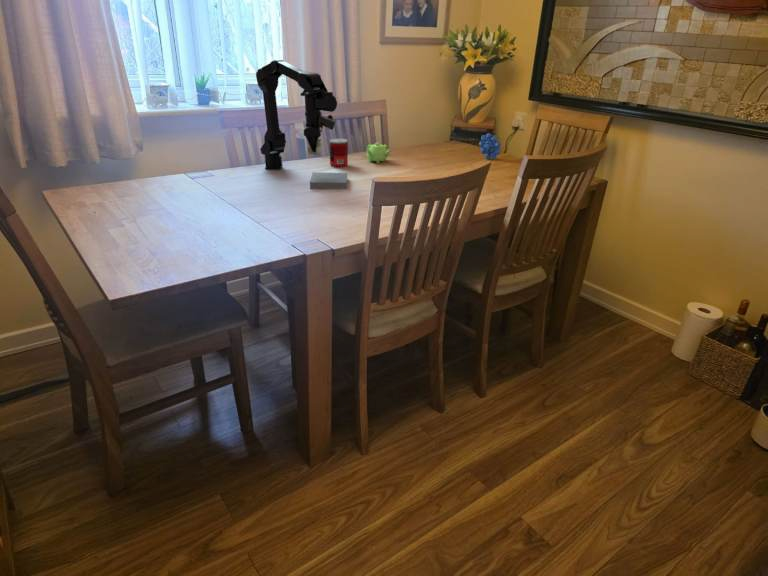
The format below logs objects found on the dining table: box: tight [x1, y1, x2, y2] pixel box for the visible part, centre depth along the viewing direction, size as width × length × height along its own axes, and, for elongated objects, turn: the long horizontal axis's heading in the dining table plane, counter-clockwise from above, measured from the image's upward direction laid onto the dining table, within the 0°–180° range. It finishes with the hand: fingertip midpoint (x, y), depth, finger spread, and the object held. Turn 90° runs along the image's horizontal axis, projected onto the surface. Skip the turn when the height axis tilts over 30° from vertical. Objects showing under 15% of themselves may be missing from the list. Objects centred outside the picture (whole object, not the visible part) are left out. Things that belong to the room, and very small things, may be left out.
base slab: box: [309, 172, 348, 190], centre depth 201 cm, size 14×14×2 cm
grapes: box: [478, 132, 502, 160], centre depth 243 cm, size 12×7×12 cm, turn 50°
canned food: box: [329, 138, 349, 168], centre depth 225 cm, size 8×8×11 cm
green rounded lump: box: [365, 142, 392, 164], centre depth 234 cm, size 11×12×8 cm
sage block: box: [306, 138, 323, 156], centre depth 200 cm, size 5×5×5 cm
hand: (314, 150), depth 201 cm, fingers closed on sage block, 5 cm apart
